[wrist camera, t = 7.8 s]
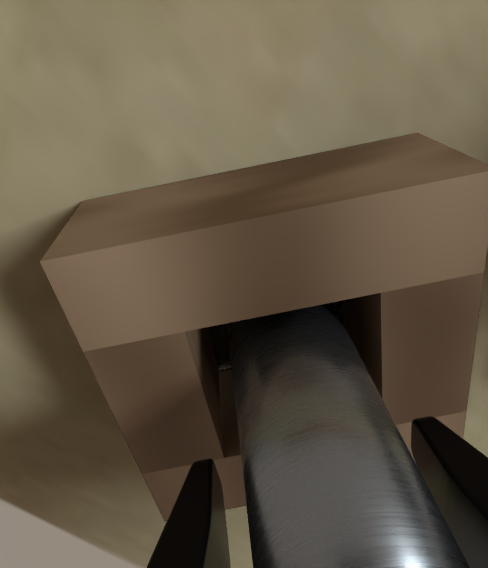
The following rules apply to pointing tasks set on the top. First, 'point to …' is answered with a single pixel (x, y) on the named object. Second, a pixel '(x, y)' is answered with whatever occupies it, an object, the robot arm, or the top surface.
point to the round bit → (326, 453)
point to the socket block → (276, 289)
